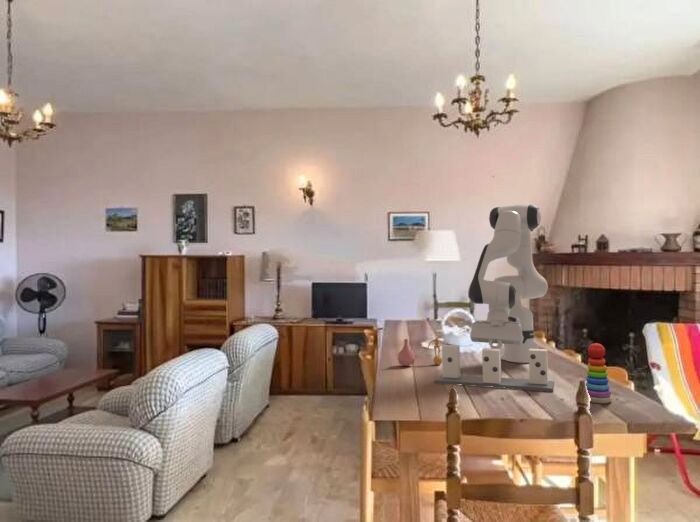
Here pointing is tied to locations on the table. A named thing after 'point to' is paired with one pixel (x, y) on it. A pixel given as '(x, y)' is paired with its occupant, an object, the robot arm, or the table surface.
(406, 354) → the perfume bottle
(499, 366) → the key two
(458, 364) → the key one
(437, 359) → the figurine
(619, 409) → the table surface
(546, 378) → the key three
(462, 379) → the grey flat board
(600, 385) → the stacking toy
